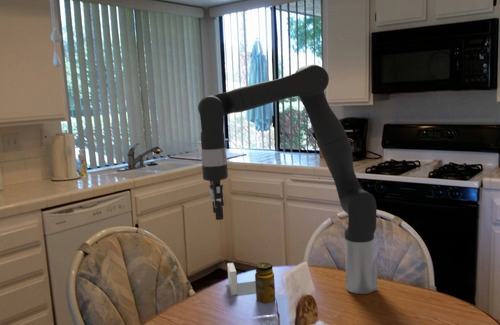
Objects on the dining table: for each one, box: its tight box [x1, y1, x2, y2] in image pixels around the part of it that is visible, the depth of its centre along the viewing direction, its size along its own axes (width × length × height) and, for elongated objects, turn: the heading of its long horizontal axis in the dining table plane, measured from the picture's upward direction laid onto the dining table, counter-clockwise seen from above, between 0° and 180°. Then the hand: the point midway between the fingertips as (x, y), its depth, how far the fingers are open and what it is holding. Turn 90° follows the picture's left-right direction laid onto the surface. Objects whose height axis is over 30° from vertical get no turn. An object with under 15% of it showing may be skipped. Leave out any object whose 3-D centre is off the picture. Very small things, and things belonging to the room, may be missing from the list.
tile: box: [226, 262, 238, 295], centre depth 155 cm, size 2×8×8 cm, turn 10°
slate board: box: [225, 280, 256, 298], centre depth 156 cm, size 13×10×1 cm
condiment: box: [254, 262, 276, 304], centre depth 146 cm, size 7×8×12 cm
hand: (218, 215), depth 141 cm, fingers open, 8 cm apart
